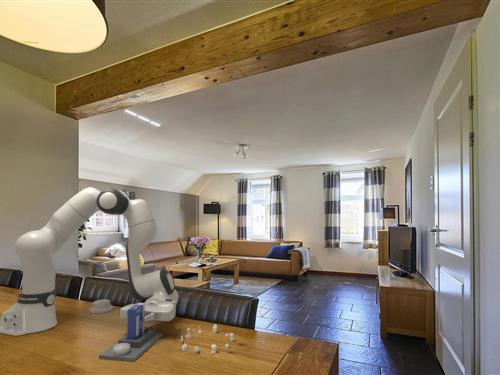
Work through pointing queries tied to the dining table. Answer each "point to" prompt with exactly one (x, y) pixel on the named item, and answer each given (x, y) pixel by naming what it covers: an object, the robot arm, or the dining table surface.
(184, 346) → the game piece set
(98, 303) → the mechanical component
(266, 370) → the dining table surface
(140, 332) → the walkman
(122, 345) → the housing
